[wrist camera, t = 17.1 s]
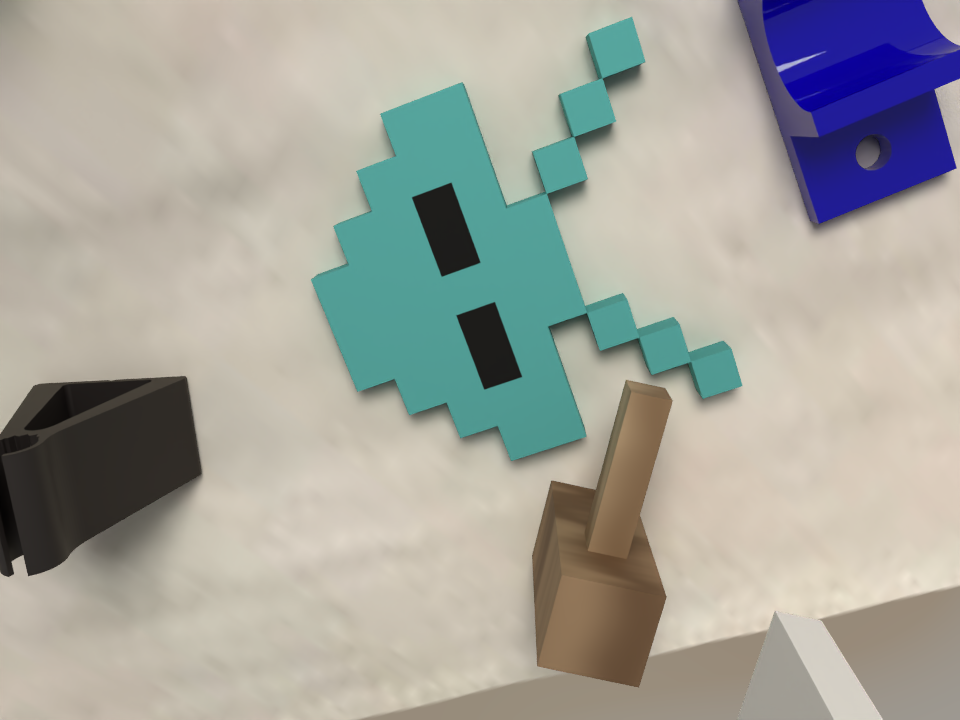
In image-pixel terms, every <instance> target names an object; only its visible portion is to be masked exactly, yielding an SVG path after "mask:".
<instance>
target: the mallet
mask: <svg viewBox="0 0 960 720" xmlns="http://www.w3.org/2000/svg"><path fill="white" fill-rule="evenodd" d="M671 405H672V399H671V397H670V396H669V394H668V392H667V390H666V389H665V388H661V387H657V386H652V385H647V384H643V383H638V382H633V381H629V380H626V382H625V385H624V389H623V393H622V397H621V400H620V404H619V408H618V411H617V415H616V419H615V422H614V426H613V430H612V433H611V437H610V441H609V444H608V448H607V452H606V455H605V459H604V463H603V466H602V470H601V474H600V478H599V481H598V485H597V489H596V490H593V489H589V488H584V487H579V486H575V485H570V484H565V483H560V482H556V481H551V484H550V488H549V492H548V496H547V500H546V504H545V508H544V512H543V516H542V520H541V524H540V527H539V531H538V535H537V539H536V543H535V547H534V551H533V555H532V559H533V581H534V603H535V626H536V648H537V666H539V667H544V668H548V669H553V670H558V671H563V672H567V673H572V674H578V675H582V676H587V677H592V678H596V679H601V680H606V681H610V682H615V683H620V684H625V685H630V686H634V687H639V685H640V682H641V679H642V675H643V672H644V669H645V666H646V662H647V659H648V656H649V653H650V649H651V646H652V643H653V639H654V636H655V633H656V630H657V626H658V623H659V620H660V617H661V613H662V610H663V607H664V604H665V600H666V594H665V591H664V588H663V585H662V582H661V579H660V576H659V573H658V570H657V566H656V563H655V560H654V557H653V554H652V551H651V548H650V545H649V542H648V539H647V536H646V533H645V530H644V527H643V523H642V520H641V517H640V512H641V509H642V505H643V502H644V498H645V495H646V491H647V488H648V484H649V481H650V477H651V474H652V470H653V467H654V464H655V460H656V457H657V453H658V450H659V446H660V443H661V439H662V436H663V432H664V429H665V425H666V422H667V419H668V415H669V412H670V408H671Z"/></svg>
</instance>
